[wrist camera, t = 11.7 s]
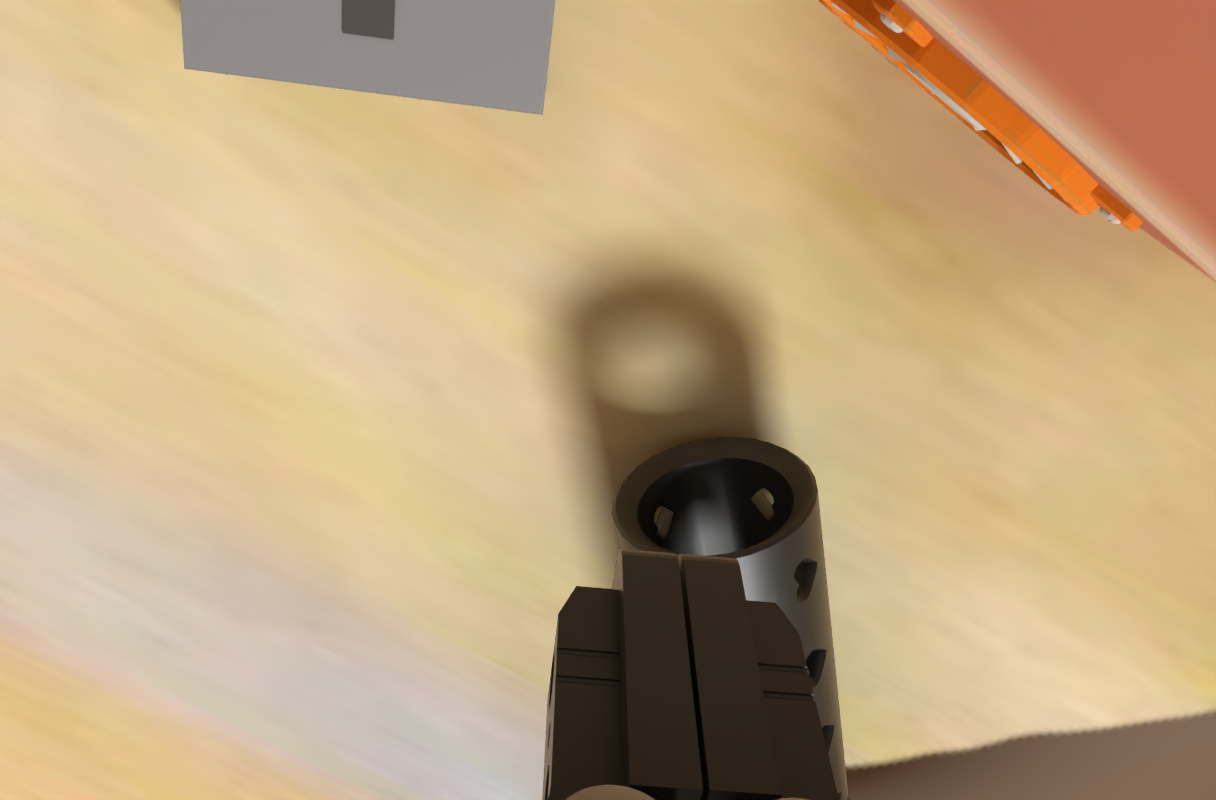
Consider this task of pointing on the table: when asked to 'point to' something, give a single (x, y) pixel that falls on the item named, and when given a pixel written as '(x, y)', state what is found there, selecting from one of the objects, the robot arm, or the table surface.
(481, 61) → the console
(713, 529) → the muzzle brake
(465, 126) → the table surface
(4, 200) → the table surface
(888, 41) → the control panel
